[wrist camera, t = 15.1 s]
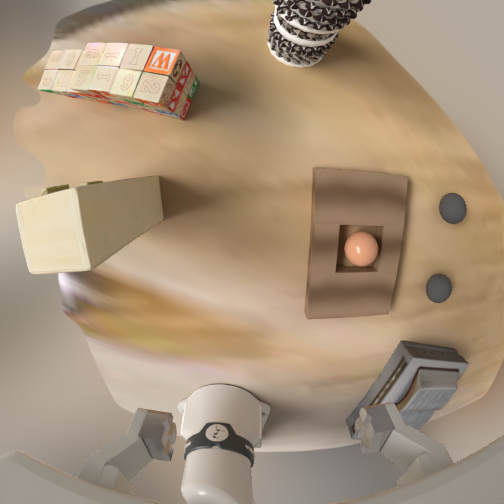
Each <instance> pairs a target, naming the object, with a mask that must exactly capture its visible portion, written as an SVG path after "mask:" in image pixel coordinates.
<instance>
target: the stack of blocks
mask: <svg viewBox="0 0 504 504" xmlns="http://www.w3.org/2000/svg"><path fill="white" fill-rule="evenodd" d="M198 84H199V81H198V79H197V77H196V76H195V75H194V73H193V71H192V70H191V67H190V65H189V63H188V62H187V60H186V59H185V57H184V56H183V54H182V52H181V51H180V50H176V49H169V48H162V47H154V46H152V45H141V44H129V43H88V44H87V46H86V48H85V50H84V49H68V50H54V51H53V52H52V54H51V56H50V59H49V61H48V63H47V66H46V68H45V71H44V74H43V76H42V79H41V82H40V85H39V87H38V90H41V91H45V92H50V93H56V94H60V95H65V96H68V97H72V98H81V99H85V100H91V101H98V102H103V103H109V104H117V105H122V106H127V107H132V108H137V109H142V110H146V111H149V112H153V113H157V114H161V115H165V116H168V117H172V118H176V119H179V120H185V117H186V115H187V112H188V109H189V107H190V104H191V101H192V98H193V96H194V93H195V91H196V89H197V86H198Z"/></svg>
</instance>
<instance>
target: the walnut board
mask: <svg viewBox="0 0 504 504" xmlns="http://www.w3.org/2000/svg"><path fill="white" fill-rule="evenodd" d="M407 185H408V176H400V175H392V174H384V173H374V172H365V171H354V170H341V169H327V168H313V187H312V214H311V233H310V250H309V265H308V278H307V290H306V301H305V314H306V317H307V319H324V318H342V317H358V316H371V315H383V314H389V310H390V305H391V301H392V296H393V291H394V286H395V281H396V276H397V270H398V264H399V258H400V252H401V245H402V238H403V230H404V221H405V211H406V200H407ZM340 225H366V226H377V229H376V238H375V239H376V241H377V244H378V254H377V257H376V259H375V260H374V261H373V262H372V266H363V267H361V266H356V267H336V261H337V251H338V240H339V228H340Z"/></svg>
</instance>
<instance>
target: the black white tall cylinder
mask: <svg viewBox="0 0 504 504" xmlns="http://www.w3.org/2000/svg"><path fill="white" fill-rule="evenodd" d="M370 2H371V0H273V3H274V5H275V12H273V13H272V14H271V17H272V19H271V20H270V25H269V31H268V47H269V49H270V52H271V54H272V55H273V56H274V57H275V58H276V59H277V60H278V61H279V62H282V63H284V64H286V65H288V66H290V67H297V68H304V67H310V66H313V65H314V64H316V63H318V62H319V61H320V60H321V59H322V58H323V57H324V56H325V54H327V52H328V51H327V50H328V49H330V48H331V45H333V44H334V41H335V38H337V37H338V33H337V32H338V31H339V30H341V29H343V28H345V26H346V25H348V24H349V23H350V18H351V19H355V18H356V17H357V12H358V11H361V10H362V9H363V6H364V4H369V3H370Z"/></svg>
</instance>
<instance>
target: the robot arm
mask: <svg viewBox="0 0 504 504" xmlns="http://www.w3.org/2000/svg"><path fill="white" fill-rule="evenodd" d="M178 409H179V411H180V413H181V414H182V416H183V419H182V426H181V434H182V435H183V437H184V439H185V440H186V441H187V442H186V446H185V450H184V458H185V460H186V463H185V469H184V474H183V480H182V486H181V491H182V494H183V497H184V498H185V500H186V501H187V502H188V504H255V502H254V497H253V490H252V476H251V468H252V466H253V464H254V448H255V447H256V448H260V447H261V445H262V435H261V432H262V430H263V427H264V425H265V423H266V420H267V418H268V415H269V413H270V406H269V405H268V404H266V403H263V402H261V401H259V400H257V399H256V398H255V397H254V396H253V395H252V394H250V393H249V392H247V391H246V390H243V389H241V388H238V387H235V386H230V385H222V384H217V385H208V386H204V387H201V388H199V389H197V390H196V391H194V392H193V393H192V394H191V395H190V396H189V397H188V398H187V399H184V400H182V401H180V402H179V403H178ZM359 414H360V417H358V418H357V419H356V422H355V433H356V436H357V438H359V439H360V440H361V442H360V444H359V445H360V448H361V451H362V454H363V455H366V454H371V453H376V452H380V453H381V454H382V455H383V456H384V457H386V458H387V459H388V460H389V461H391V462H392V463H393V464H394V465H396V466H397V467H398V468H399V469H400V470H402V471H403V472H404V474H403V475H402V476H401V477H400V479H399V480H398V482H397V483H398V487H394V488H391V489H388V490H385V491H381V492H378V493H374V494H370V495H366V496H362V497H358V498H354V499H349V500H345V501H340V502H334V503H329V504H504V435H503V436H501V437H499V438H498V439H496V440H495V441H493V442H492V443H490V444H488V445H487V446H485V447H483V448H482V449H480V450H478V451H477V452H475V453H473V454H471V455H469V456H468V457H466V458H464V459H462V460H460V461H458V462H456V463H453V461H452V459H451V457H450V455H449V453H448V452H447V450H446V448H445V446H444V445H443V444H441V443H439V442H437V441H436V440H434V439H432V438H430V437H428V436H426V435H425V434H423V433H421V432H420V431H418V430H416V429H414V428H413V427H411V426H409V425H408V426H406V425H405V423H404V421H403V419H402V417H401V415H400V413H399V411H398V409H397V407H396V406H395V404H394V403H393V402H388V403H384V404H378V405H373V406H368V407H363V408H361V410H360V412H359ZM172 421H173V416H172V413H167V412H161V411H154V410H149V409H143V408H138V409H137V410H136V411H135V414H134V416H133V419H132V422H131V424H130V427H129V429H128V432H127V434H123V435H121V436H120V437H118V438H117V439H115V440H114V441H112V442H110V443H109V444H107V445H106V446H104V447H103V448H101V449H100V450H98V451H97V452H95V453H93V454H92V455H90V456H89V457H87V459H86V461H85V464H84V466H83V468H82V471H81V473H80V476H79V478H77V477H75V476H72V475H70V474H67V473H65V472H63V471H61V470H58V469H56V468H54V467H52V466H50V465H48V464H46V463H44V462H41V461H40V460H38V459H36V458H34V457H32V456H30V455H28V454H27V453H25V452H23V451H20V450H14V451H11V452H9V453H6V454H4V455H1V456H0V504H170V503H165V502H159V501H154V500H150V499H145V498H141V497H137V496H136V490H135V489H134V488H133V487H132V485H131V484H130V483H129V481H130V480H131V479H132V478H133V477H134V476H136V475H137V474H138V473H139V472H140V471H141V470H142V469H143V468H144V467H145V466H146V465H148V464H149V463H150V462H151V461H152V459H157V460H164V461H171V458H172V454H173V448H172V444H174V443H175V441H176V434H177V430H176V425H175V423H174V422H172Z"/></svg>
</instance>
